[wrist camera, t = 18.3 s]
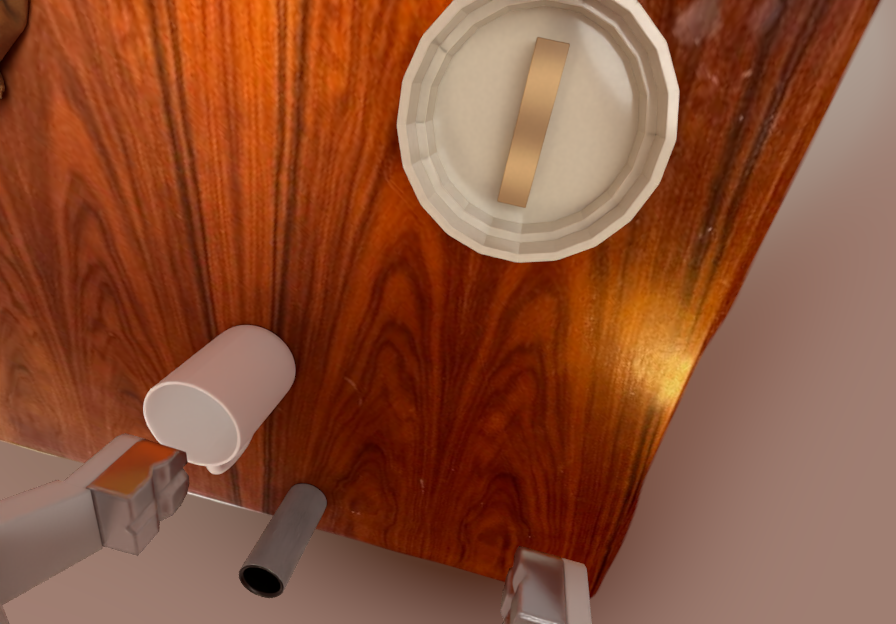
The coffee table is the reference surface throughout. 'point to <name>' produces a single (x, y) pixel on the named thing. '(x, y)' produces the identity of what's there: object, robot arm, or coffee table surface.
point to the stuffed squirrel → (11, 26)
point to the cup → (221, 396)
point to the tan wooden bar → (533, 120)
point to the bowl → (569, 130)
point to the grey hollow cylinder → (283, 541)
